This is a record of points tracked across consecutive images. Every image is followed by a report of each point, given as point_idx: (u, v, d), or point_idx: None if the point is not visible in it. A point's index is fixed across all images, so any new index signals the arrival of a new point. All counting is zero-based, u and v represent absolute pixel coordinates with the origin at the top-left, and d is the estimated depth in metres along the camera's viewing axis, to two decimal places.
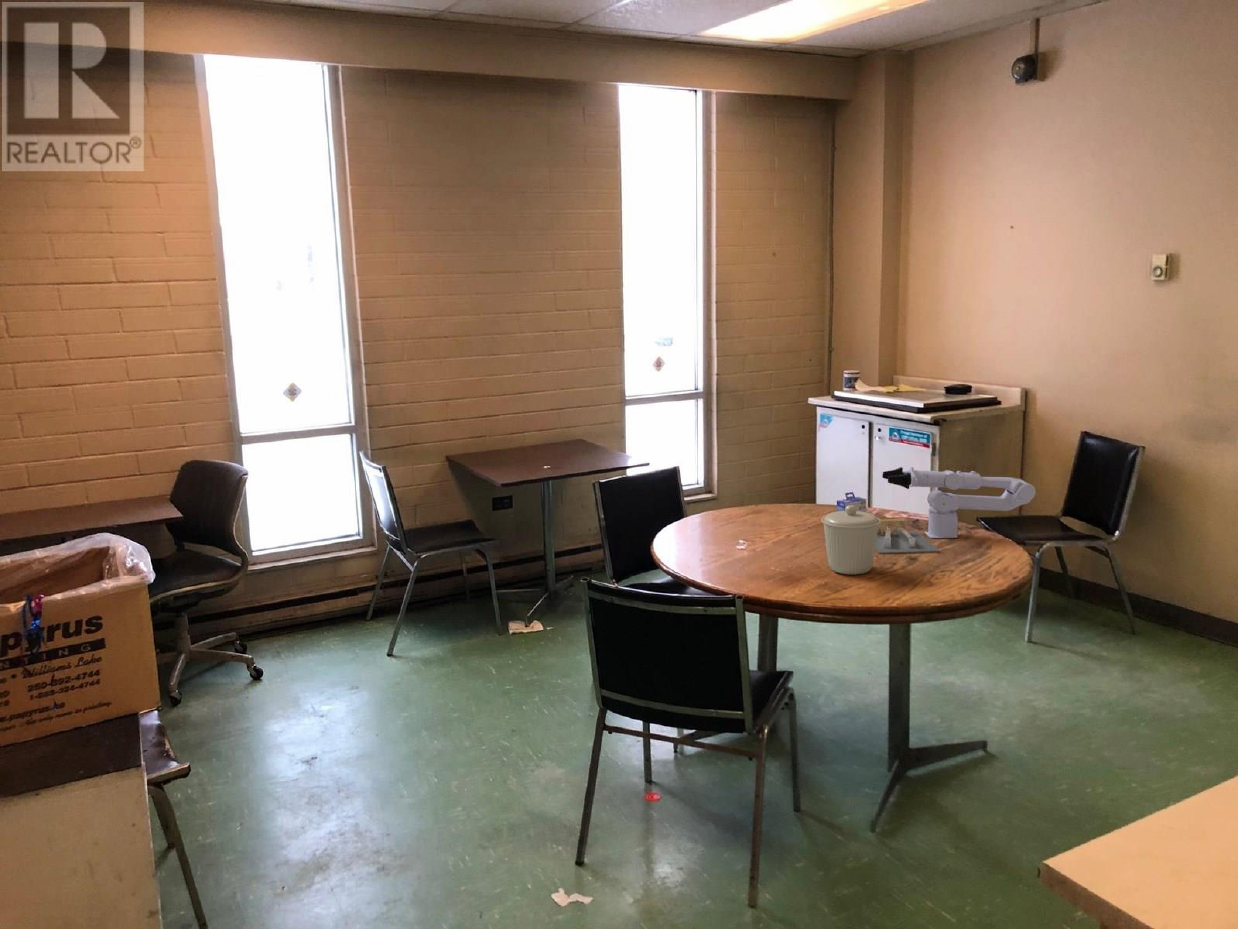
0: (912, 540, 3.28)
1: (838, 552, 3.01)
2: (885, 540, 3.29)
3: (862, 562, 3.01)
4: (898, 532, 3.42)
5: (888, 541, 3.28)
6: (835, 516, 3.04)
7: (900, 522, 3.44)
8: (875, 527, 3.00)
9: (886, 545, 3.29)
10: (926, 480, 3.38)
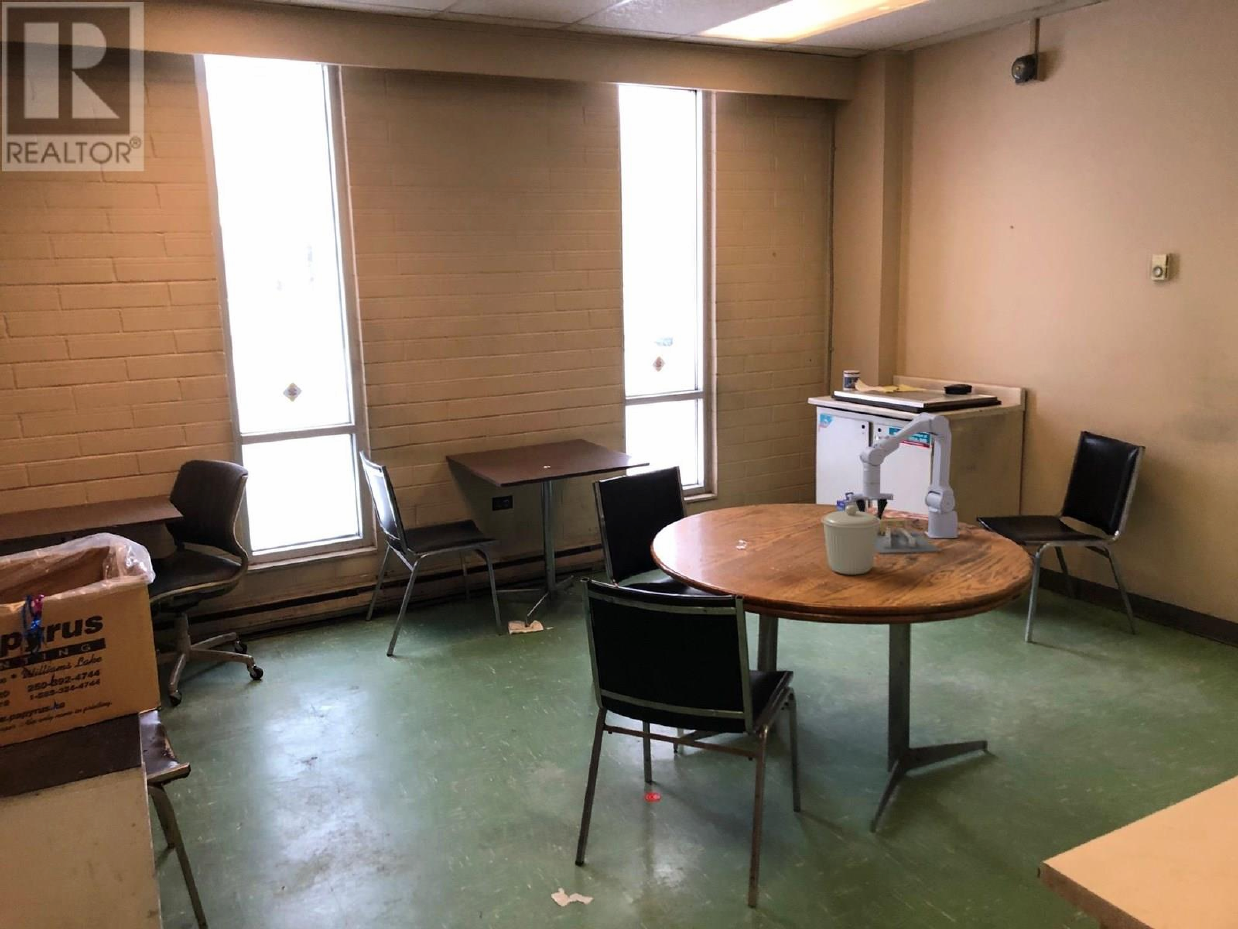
0: (912, 540, 3.28)
1: (838, 552, 3.01)
2: (885, 540, 3.29)
3: (862, 562, 3.01)
4: (898, 532, 3.42)
5: (888, 541, 3.28)
6: (835, 516, 3.04)
7: (900, 522, 3.44)
8: (875, 527, 3.00)
9: (886, 545, 3.29)
10: None
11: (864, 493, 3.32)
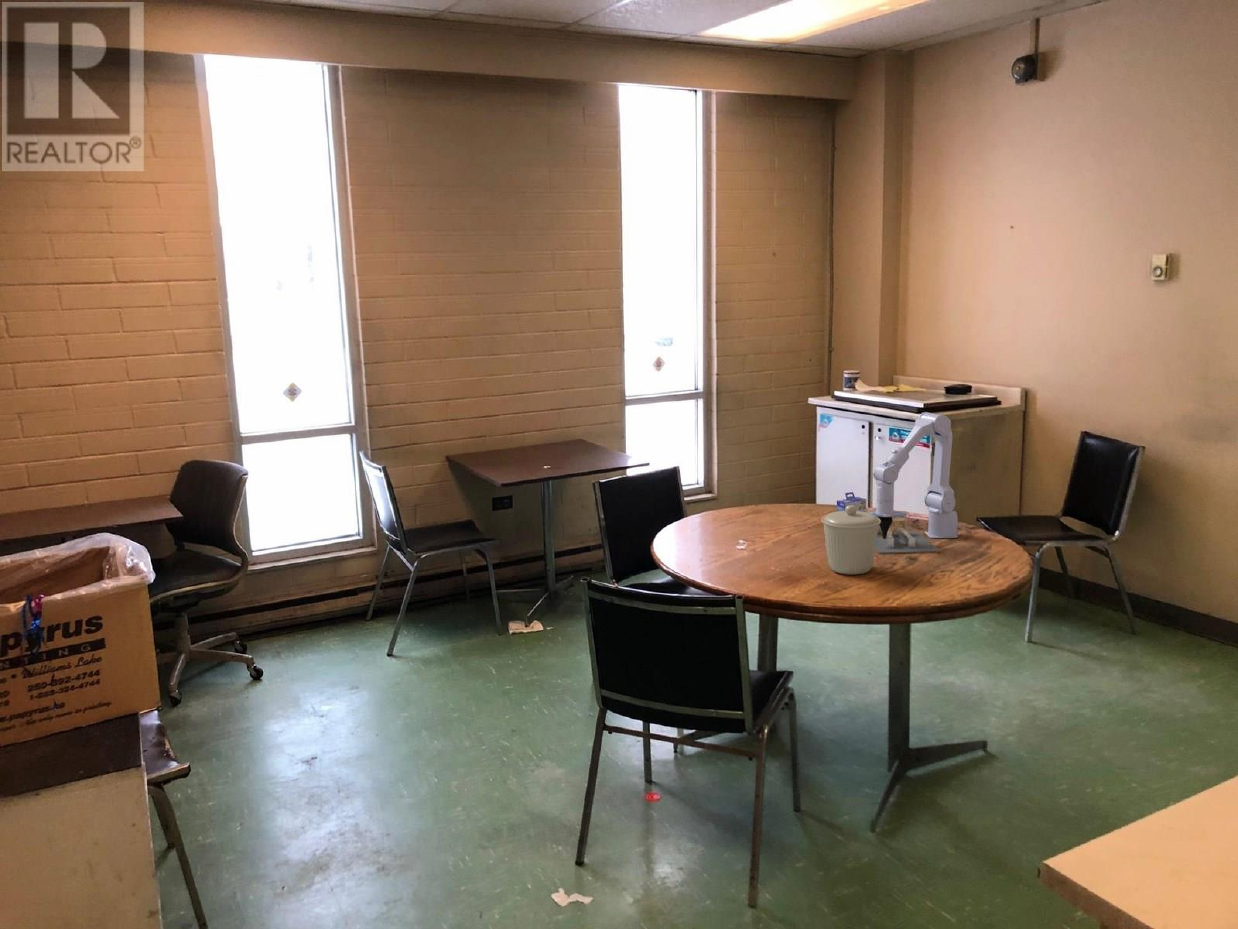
0: (912, 540, 3.28)
1: (838, 552, 3.01)
2: (888, 540, 3.28)
3: (862, 562, 3.01)
4: (898, 532, 3.42)
5: (891, 541, 3.28)
6: (835, 516, 3.04)
7: (900, 522, 3.44)
8: (875, 527, 3.00)
9: (889, 545, 3.29)
10: None
11: (877, 511, 3.33)
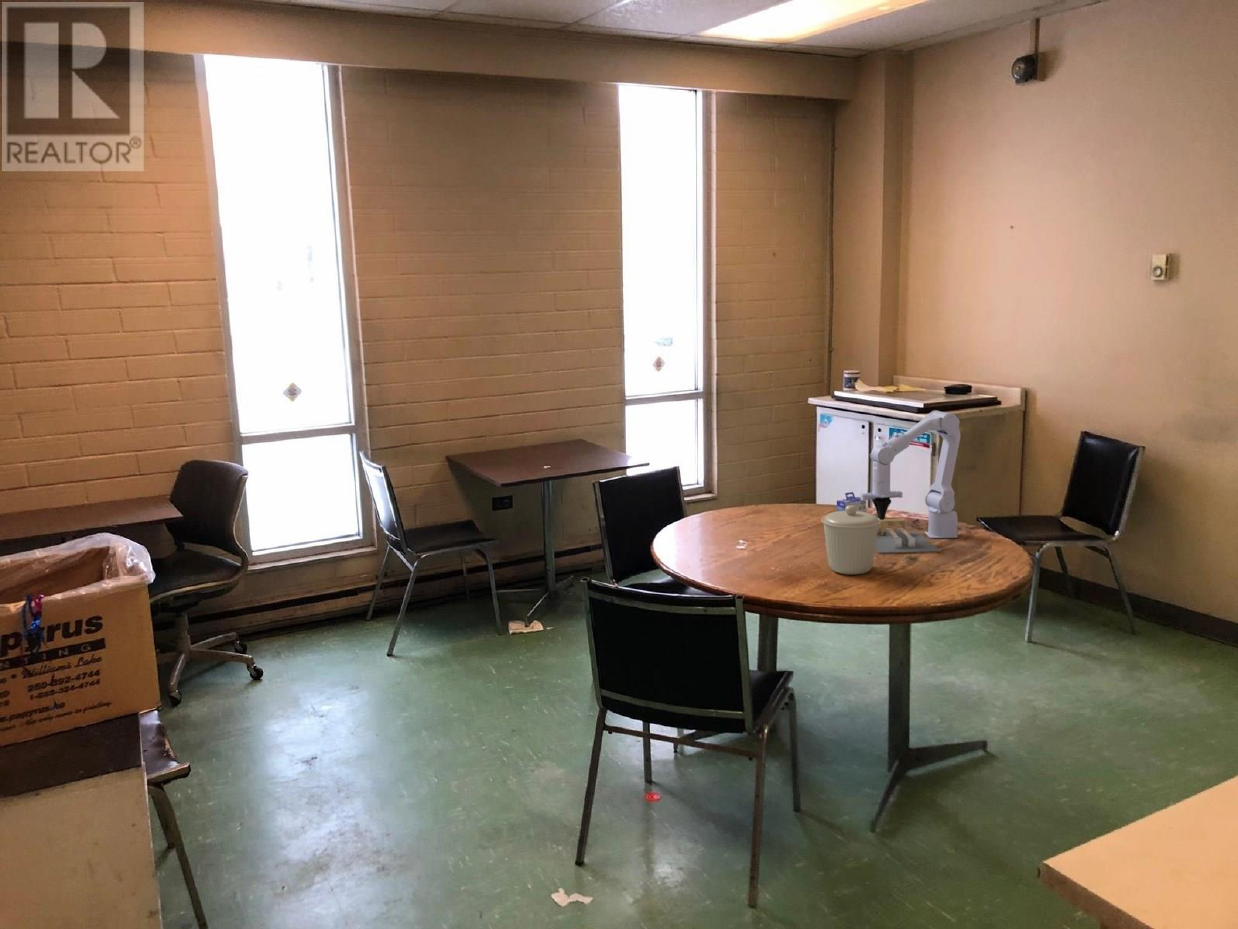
0: (912, 540, 3.28)
1: (838, 552, 3.01)
2: (896, 540, 3.28)
3: (862, 562, 3.01)
4: (898, 532, 3.42)
5: (899, 541, 3.28)
6: (835, 516, 3.04)
7: (900, 522, 3.44)
8: (875, 527, 3.00)
9: (897, 545, 3.28)
10: None
11: (875, 492, 3.34)
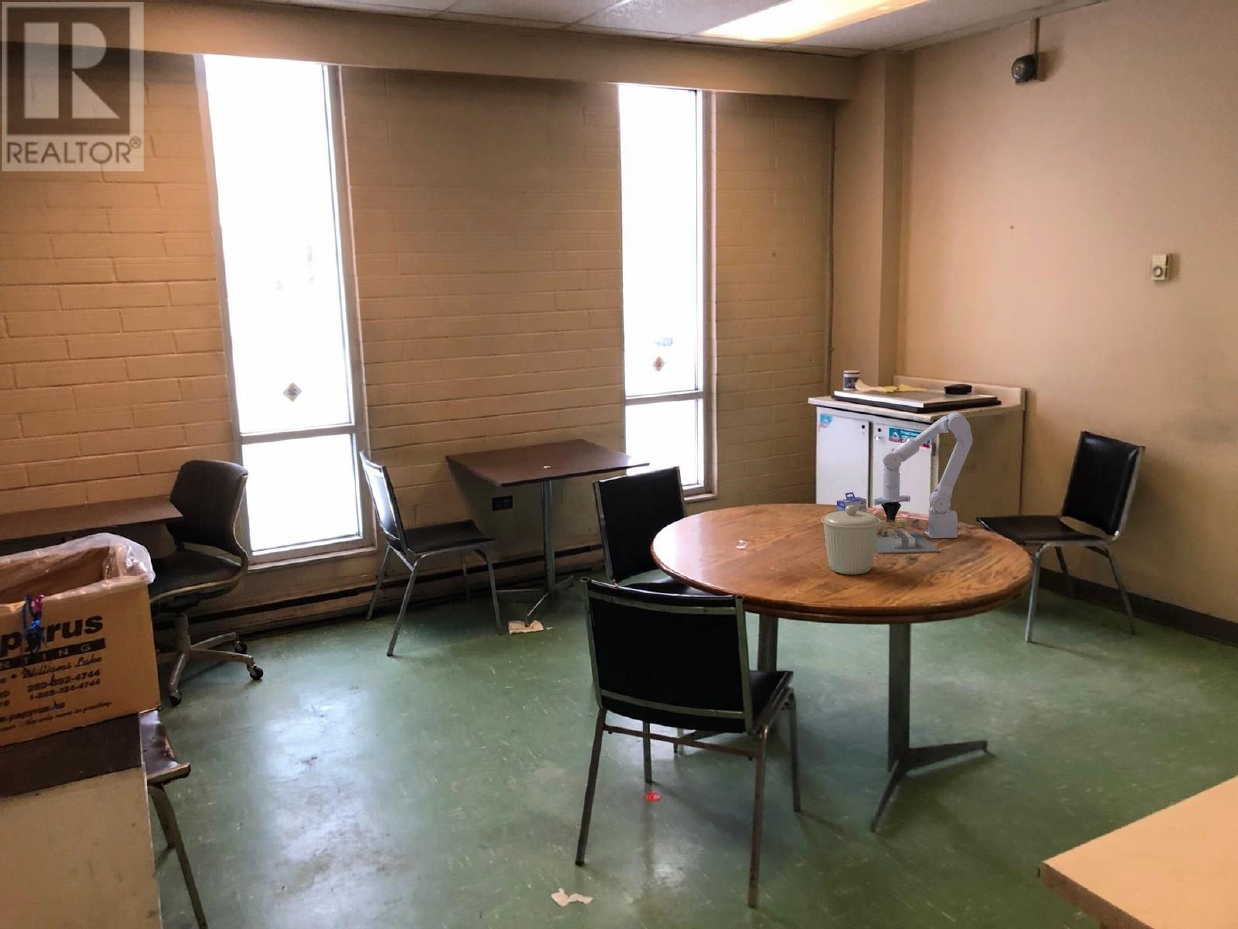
0: (912, 540, 3.28)
1: (838, 552, 3.01)
2: (896, 540, 3.28)
3: (862, 562, 3.01)
4: (898, 532, 3.42)
5: (899, 541, 3.28)
6: (835, 516, 3.04)
7: (901, 523, 3.42)
8: (875, 527, 3.00)
9: (897, 545, 3.28)
10: None
11: (886, 497, 3.43)
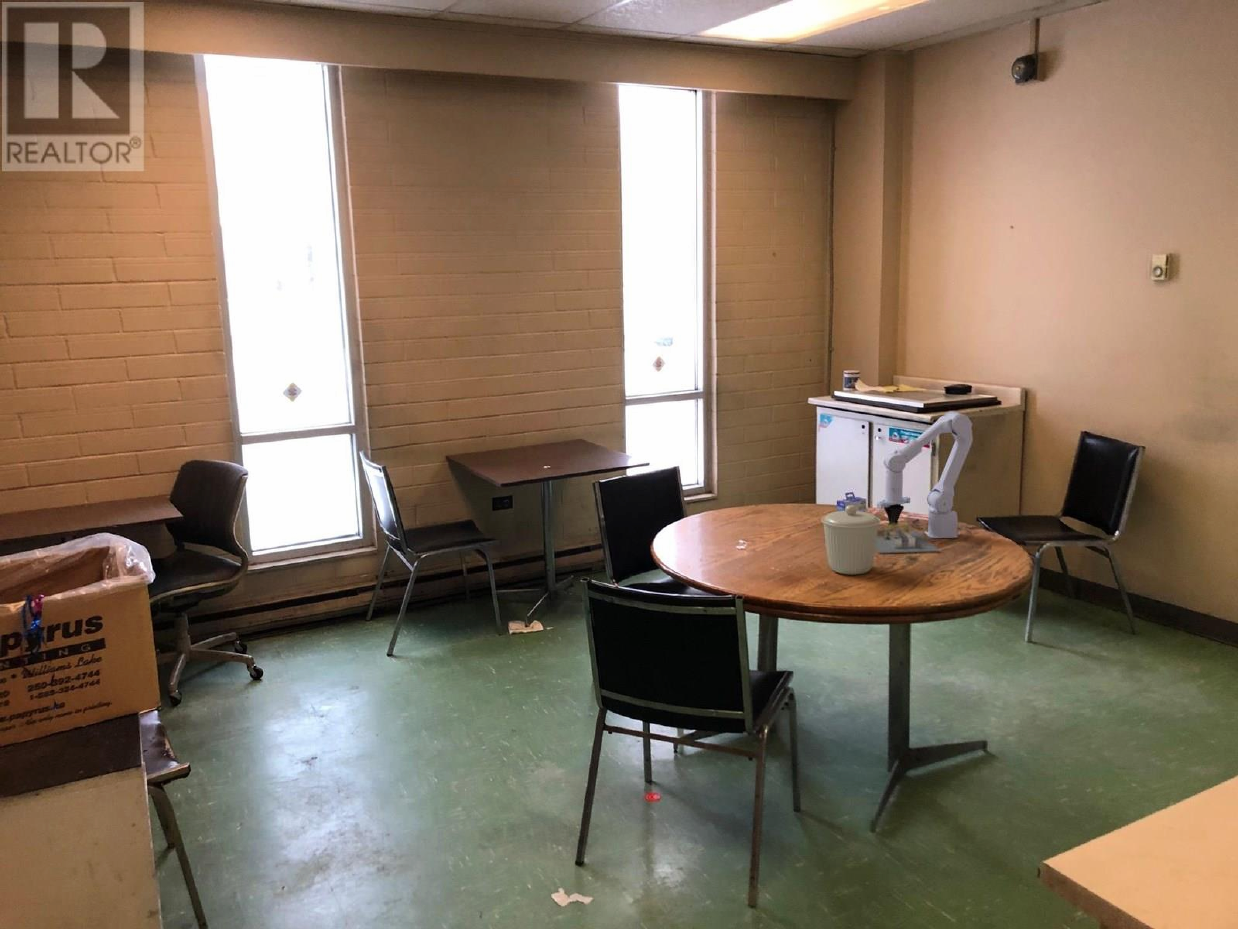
0: (912, 540, 3.28)
1: (838, 552, 3.01)
2: (896, 540, 3.28)
3: (862, 562, 3.01)
4: (898, 532, 3.42)
5: (899, 541, 3.28)
6: (835, 516, 3.04)
7: (904, 526, 3.39)
8: (875, 527, 3.00)
9: (897, 545, 3.28)
10: None
11: (890, 499, 3.39)
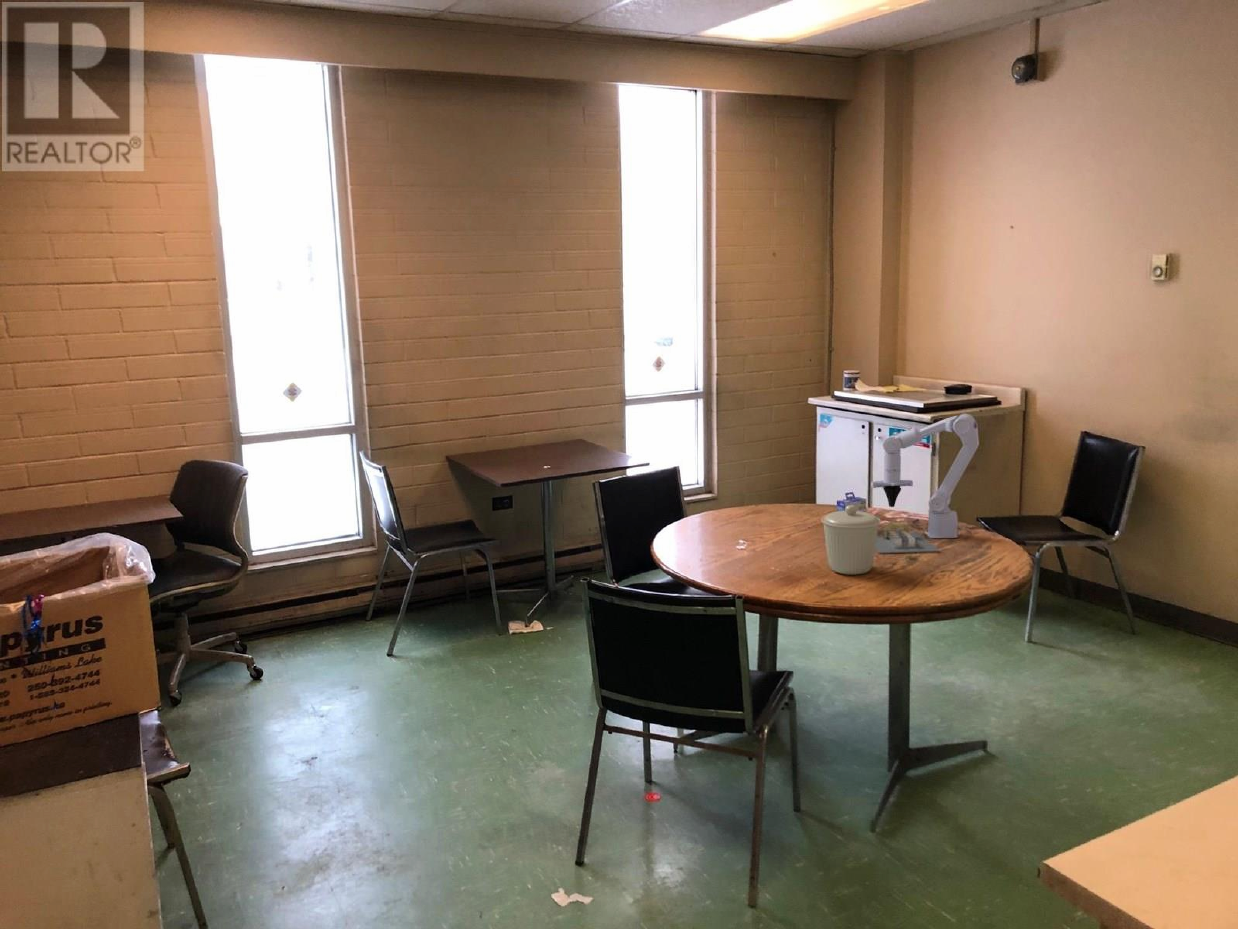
0: (912, 540, 3.28)
1: (838, 552, 3.01)
2: (896, 540, 3.28)
3: (862, 562, 3.01)
4: (898, 532, 3.42)
5: (899, 541, 3.28)
6: (835, 516, 3.04)
7: (904, 526, 3.39)
8: (875, 527, 3.00)
9: (897, 545, 3.28)
10: None
11: (885, 480, 3.47)
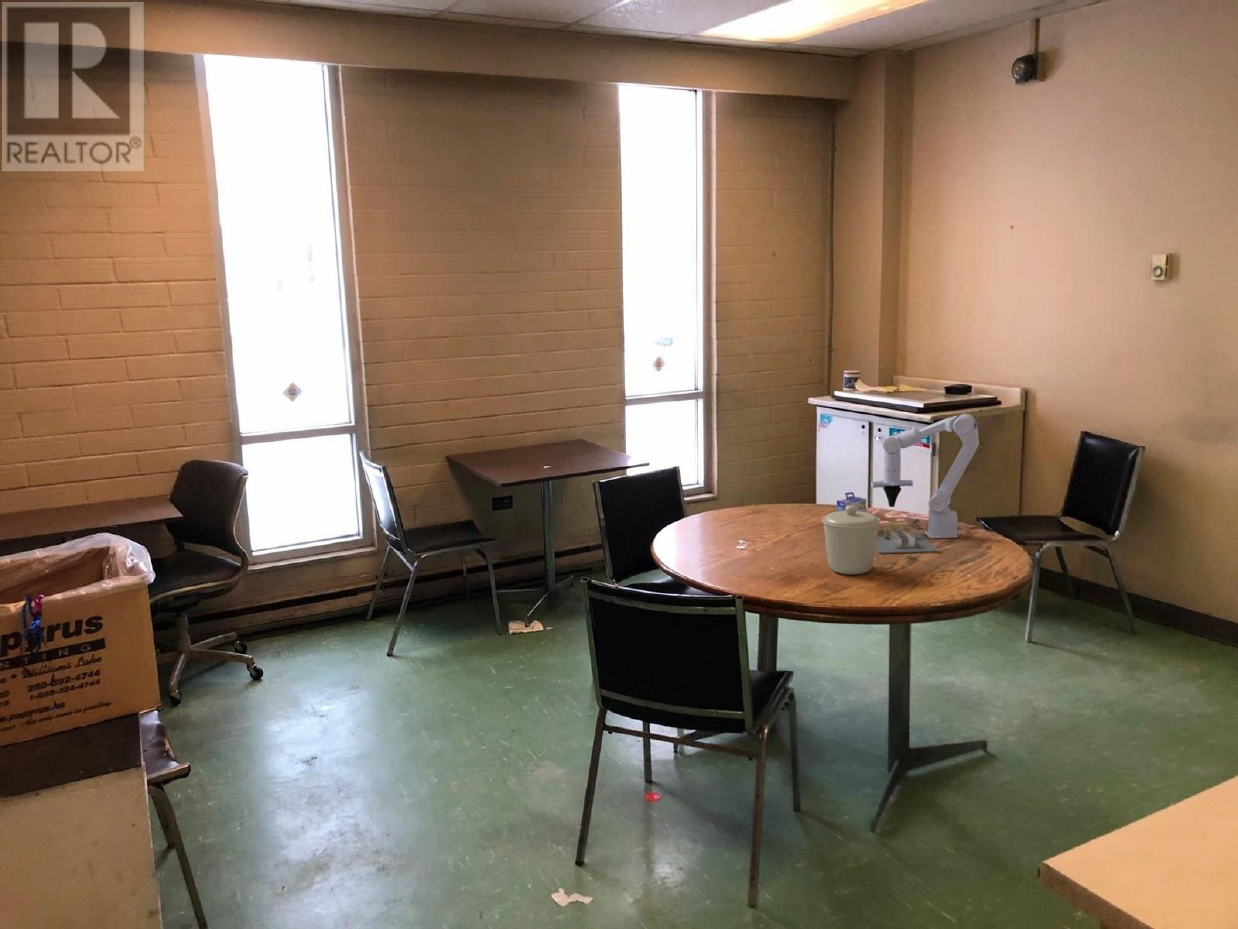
0: (912, 540, 3.28)
1: (838, 552, 3.01)
2: (896, 540, 3.28)
3: (862, 562, 3.01)
4: (898, 532, 3.42)
5: (899, 541, 3.28)
6: (835, 516, 3.04)
7: (904, 526, 3.39)
8: (875, 527, 3.00)
9: (897, 545, 3.28)
10: None
11: (885, 480, 3.47)
